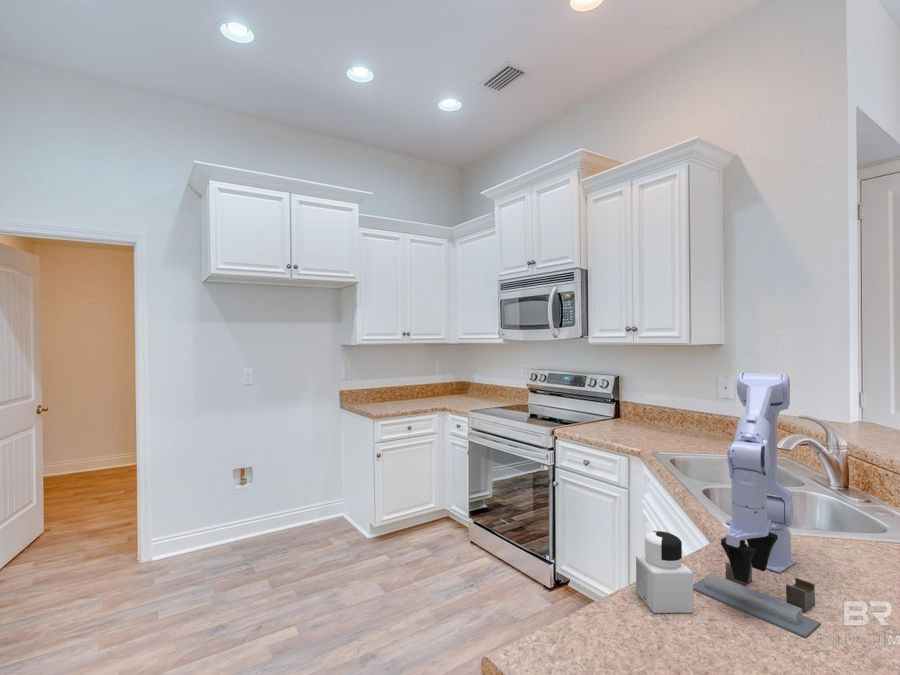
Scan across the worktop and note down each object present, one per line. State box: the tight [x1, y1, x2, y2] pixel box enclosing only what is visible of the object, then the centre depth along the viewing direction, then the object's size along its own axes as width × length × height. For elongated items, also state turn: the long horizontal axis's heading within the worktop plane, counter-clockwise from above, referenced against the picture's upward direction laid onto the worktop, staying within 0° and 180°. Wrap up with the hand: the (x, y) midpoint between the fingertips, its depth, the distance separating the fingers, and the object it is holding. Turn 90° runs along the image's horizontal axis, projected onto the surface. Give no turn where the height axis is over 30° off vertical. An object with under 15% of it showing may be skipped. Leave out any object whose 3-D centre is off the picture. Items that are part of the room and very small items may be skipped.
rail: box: [703, 572, 803, 626], centre depth 89 cm, size 2×16×2 cm, turn 34°
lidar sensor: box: [635, 530, 694, 614], centre depth 90 cm, size 8×8×13 cm
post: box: [785, 577, 816, 614], centre depth 89 cm, size 5×3×4 cm, turn 124°
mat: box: [693, 578, 822, 639], centre depth 89 cm, size 7×20×1 cm, turn 34°
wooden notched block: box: [725, 562, 753, 587], centre depth 98 cm, size 5×3×4 cm, turn 124°
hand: (750, 574), depth 89 cm, fingers open, 7 cm apart
